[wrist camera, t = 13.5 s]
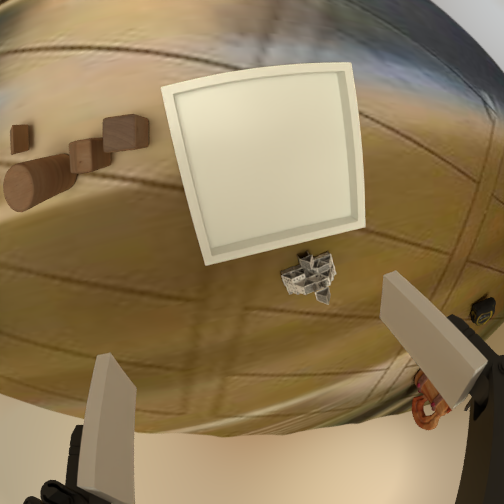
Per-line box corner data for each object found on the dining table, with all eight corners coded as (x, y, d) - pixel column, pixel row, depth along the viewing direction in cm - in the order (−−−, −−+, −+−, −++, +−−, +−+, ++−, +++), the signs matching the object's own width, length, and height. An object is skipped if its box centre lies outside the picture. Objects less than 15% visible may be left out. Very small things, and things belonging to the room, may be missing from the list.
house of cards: (331, 213, 37) (360, 237, 30) (342, 266, 41) (368, 296, 34) (266, 238, 37) (283, 269, 30) (285, 290, 41) (302, 325, 34)
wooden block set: (151, 103, 27) (128, 88, 17) (153, 180, 30) (132, 200, 21) (18, 129, 24) (-34, 134, 15) (23, 196, 27) (-26, 220, 18)
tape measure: (491, 292, 52) (498, 302, 49) (486, 311, 56) (492, 321, 52) (471, 301, 54) (477, 311, 50) (466, 319, 57) (472, 330, 54)
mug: (427, 356, 58) (459, 398, 45) (442, 357, 61) (471, 395, 48) (392, 395, 63) (417, 438, 50) (408, 394, 66) (432, 433, 53)
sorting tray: (204, 253, 36) (205, 265, 33) (164, 89, 26) (160, 87, 24) (354, 218, 37) (365, 226, 35) (338, 65, 28) (351, 62, 25)
